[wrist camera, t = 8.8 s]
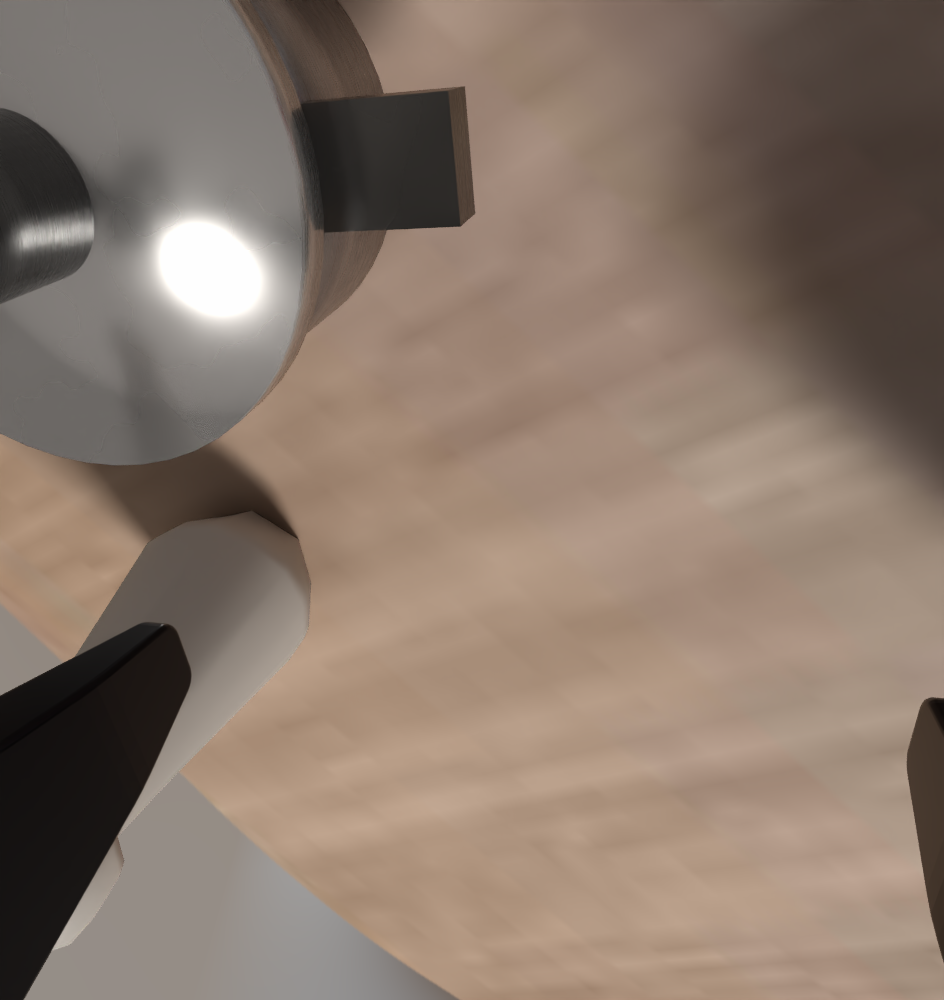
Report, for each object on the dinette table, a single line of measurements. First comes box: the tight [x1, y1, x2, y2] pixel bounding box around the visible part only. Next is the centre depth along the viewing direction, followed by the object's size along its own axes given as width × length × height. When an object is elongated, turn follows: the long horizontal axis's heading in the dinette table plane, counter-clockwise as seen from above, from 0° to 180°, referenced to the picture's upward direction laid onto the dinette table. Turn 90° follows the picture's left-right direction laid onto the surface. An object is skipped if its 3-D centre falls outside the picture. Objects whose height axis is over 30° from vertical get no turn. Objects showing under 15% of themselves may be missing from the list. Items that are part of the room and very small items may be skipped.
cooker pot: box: [250, 0, 475, 333], centre depth 17 cm, size 16×10×6 cm, turn 95°
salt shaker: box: [52, 511, 311, 951], centre depth 21 cm, size 6×6×13 cm
